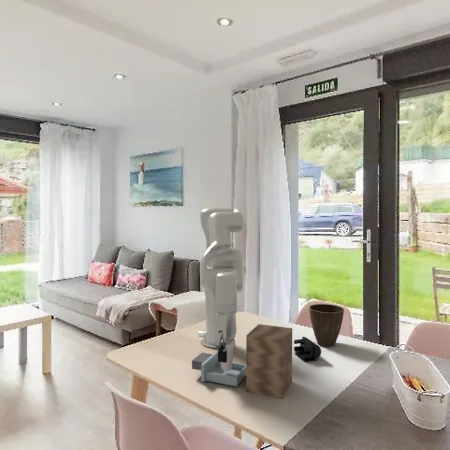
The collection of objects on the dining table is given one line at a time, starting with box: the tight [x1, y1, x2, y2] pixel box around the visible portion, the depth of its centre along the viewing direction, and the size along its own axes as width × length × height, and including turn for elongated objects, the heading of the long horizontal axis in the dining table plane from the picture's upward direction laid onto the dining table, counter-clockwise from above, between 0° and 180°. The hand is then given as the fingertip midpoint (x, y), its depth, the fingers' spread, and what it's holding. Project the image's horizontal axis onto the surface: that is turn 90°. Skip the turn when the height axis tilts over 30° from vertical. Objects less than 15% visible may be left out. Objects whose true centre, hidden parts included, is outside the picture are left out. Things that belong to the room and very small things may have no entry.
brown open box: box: [245, 323, 293, 399], centre depth 126 cm, size 12×13×19 cm
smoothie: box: [221, 339, 236, 371], centre depth 133 cm, size 6×6×14 cm
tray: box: [191, 350, 246, 387], centre depth 134 cm, size 18×14×6 cm
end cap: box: [293, 336, 322, 363], centre depth 151 cm, size 10×7×7 cm
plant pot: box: [308, 303, 345, 348], centre depth 166 cm, size 15×15×16 cm
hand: (226, 357), depth 133 cm, fingers closed on smoothie, 6 cm apart
